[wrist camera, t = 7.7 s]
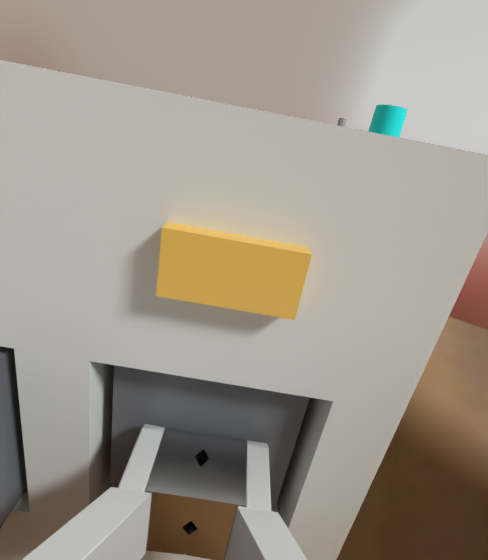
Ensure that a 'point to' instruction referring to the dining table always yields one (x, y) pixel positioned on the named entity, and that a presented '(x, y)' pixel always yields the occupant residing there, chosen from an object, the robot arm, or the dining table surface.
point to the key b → (203, 416)
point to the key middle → (10, 437)
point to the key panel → (218, 279)
